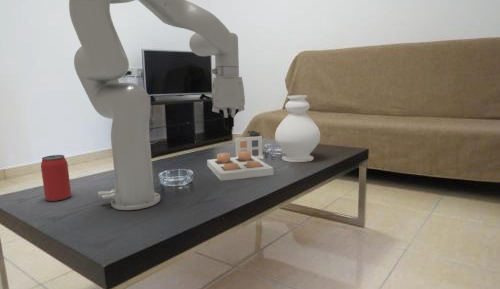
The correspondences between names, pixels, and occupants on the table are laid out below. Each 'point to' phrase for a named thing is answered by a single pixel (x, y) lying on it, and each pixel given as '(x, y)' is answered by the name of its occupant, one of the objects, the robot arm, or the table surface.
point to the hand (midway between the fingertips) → (229, 129)
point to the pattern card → (250, 146)
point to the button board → (239, 169)
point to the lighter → (254, 134)
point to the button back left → (223, 158)
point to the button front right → (253, 164)
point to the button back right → (244, 156)
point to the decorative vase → (297, 131)
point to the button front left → (230, 166)
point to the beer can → (55, 178)
